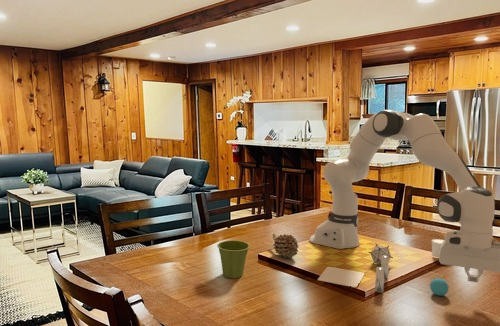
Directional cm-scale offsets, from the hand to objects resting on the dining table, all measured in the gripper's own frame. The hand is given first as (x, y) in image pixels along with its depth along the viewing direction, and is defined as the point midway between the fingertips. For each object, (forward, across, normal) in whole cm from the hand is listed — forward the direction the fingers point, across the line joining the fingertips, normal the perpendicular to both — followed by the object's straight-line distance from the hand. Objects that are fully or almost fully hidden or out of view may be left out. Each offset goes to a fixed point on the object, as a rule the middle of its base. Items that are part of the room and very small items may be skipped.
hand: (472, 281), depth 126 cm
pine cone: (+6, +70, -12) cm, 71 cm away
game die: (+6, +30, -19) cm, 37 cm away
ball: (+4, +10, 0) cm, 10 cm away
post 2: (+6, +28, -6) cm, 29 cm away
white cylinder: (+6, +9, -39) cm, 41 cm away
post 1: (+6, +28, +6) cm, 29 cm away
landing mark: (+6, +42, 0) cm, 42 cm away
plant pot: (+6, +77, +16) cm, 79 cm away
